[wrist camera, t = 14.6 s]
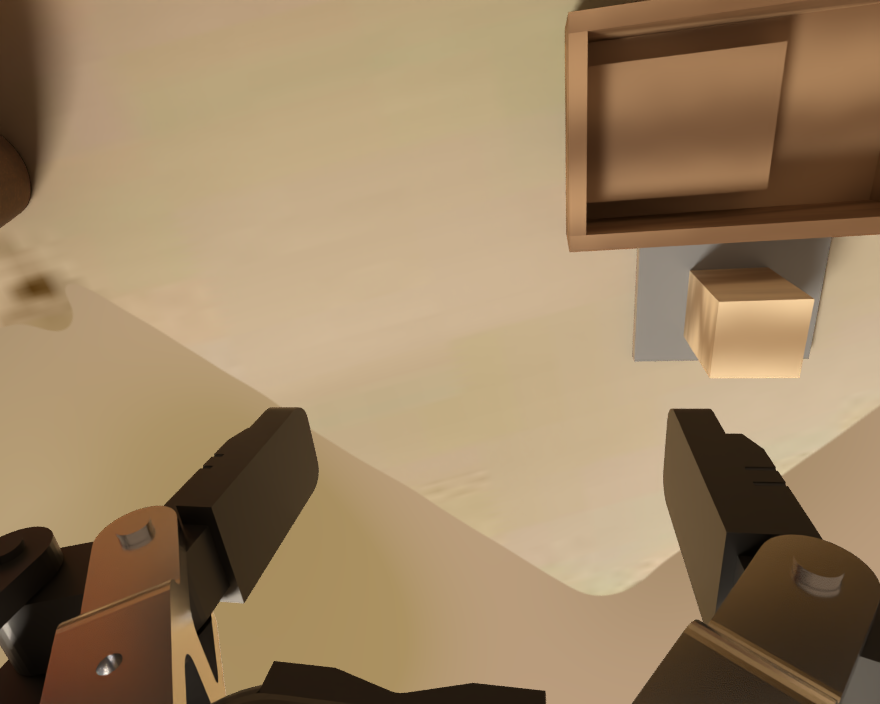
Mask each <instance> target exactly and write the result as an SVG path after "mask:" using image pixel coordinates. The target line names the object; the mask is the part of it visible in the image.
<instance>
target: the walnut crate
mask: <svg viewBox="0 0 880 704" xmlns="http://www.w3.org/2000/svg"><path fill="white" fill-rule="evenodd" d="M565 112H566V234H567V240H568V246H569V251H570V252H580V251H598V250H615V249H633V248H650V247H668V246H685V245H703V244H720V243H737V242H755V241H772V240H790V239H807V238H825V237H842V236H860V235H877V234H880V0H648V1H641V2H634V3H627V4H621V5H614V6H607V7H600V8H594V9H587V10H580V11H573V12H568V17H567V22H566V26H565Z"/></svg>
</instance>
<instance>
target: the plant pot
mask: <svg viewBox="0 0 880 704" xmlns="http://www.w3.org/2000/svg"><path fill="white" fill-rule="evenodd" d="M30 190H31V187H30V180H29V175H28V172H27V169H26V166H25V164H24V163H23V161H22V159H21V157H20V155H19V154H18V153H17V151H16V150H15V149H14V148H13V146H12V145H11V144H10V143H9V142H8V141H7V140H6V139H4V138H3V137H2V136H0V228H1V227H2V226H4V225H5V224H6V223H8V222H9V221H11V220H12V219H13V218H15V217H16V216H17V215H18V214H20V213H21V212H22V211H23V210H24V209H25V208H26V206H27V204H28V202H29V198H30Z"/></svg>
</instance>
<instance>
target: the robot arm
mask: <svg viewBox="0 0 880 704" xmlns="http://www.w3.org/2000/svg"><path fill="white" fill-rule="evenodd" d="M318 469H319V468H318V461H317V457H316V452H315V448H314V443H313V439H312V435H311V430H310V426H309V422H308V418H307V415H306V412H305V411H304V410H303V409H302V408H299V407H276V408H275V407H274V408H273V407H272V408H268V409H267V410H266V411H265V412H264V413H263V414H262V415H261V416H260V417H259V418H258V419H257V421H255V423H254V424H253V425H252V426H251V427H250V428H247V429H245V430H244V431H242V432H241V433H239V434H237V435H236V436H234V437H232V438H231V439H229V440H228V441H227V442H226V443H225V444H224V445H223V446H222V447H221V448H220V449H219V450H218V451H217V452H216V453H215V454H214V457H211V458H210V459H209V460H208V461H207V462H206V463H205V464H204V465H203V469H199V470H198V471H197V472H196V473H195V474H194V475H193V476H192V477H191V478H190V479H189V480H188V481H187V482H186V483H185V484H184V486H182V488H181V489H180V490H179V491H178V492H177V493H176V494H175V495H174V496H173V497H172V498H171V499H170V500H169V501H168V502H167V503H166V504H165V505H164V506H151V507H145V508H142V509H138V510H135V511H133V512H130V513H128V514H126V515H124V516H122V517H120V518H118V519H116V520H115V521H113V522H112V523H110V524H109V525H108V526H107V527H105V528H104V529H103V530H102V531H101V532H100V533H99V535H98V536H97V537H96V539H95V541H94V542H89V543H84V544H79V545H73V546H68V547H63V548H60V547H59V545H58V543H57V541H56V539H55V537H54V535H53V533H52V531H51V530H50V529H48V528H45V527H29V528H25V529H20V530H17V531H14V532H11V533H9V534H6V535H4V536H1V537H0V646H1V648H2V649H3V651H4V652H5V654H6V656H7V657H8V659H9V660H8V661H7V662H6V663H5V664H4V665H3V666H2V667H1V668H0V704H546V693H545V691H541V690H532V689H523V688H514V687H505V686H495V685H487V684H478V683H470V684H464V685H456V686H449V687H442V688H436V689H429V690H422V691H416V692H408V693H395V692H391V691H389V690H387V689H384V688H382V687H379V686H377V685H375V684H372V683H370V682H367V681H365V680H363V679H361V678H358V677H356V676H353V675H351V674H349V673H346V672H344V671H342V670H339V669H336V668H332V667H323V666H314V665H305V664H295V663H286V662H277V661H274V662H273V664H272V666H271V668H270V670H269V672H268V674H267V676H266V678H265V680H264V682H263V684H262V685H260V686H255V687H252V688H248V689H244V690H241V691H238V692H236V693H233V694H231V695H228V696H226V692H225V684H224V676H223V668H222V660H221V652H220V644H219V636H218V628H217V622H216V618H215V616H214V613H213V610H214V609H215V607H216V606H217V604H218V603H219V602H220V601H222V602H234V603H245V601H246V599H247V598H248V596H249V595H250V593H251V591H252V590H253V588H254V587H255V585H256V583H257V582H258V580H259V578H260V577H261V575H262V573H263V572H264V570H265V569H266V567H267V565H268V564H269V562H270V561H271V559H272V557H273V556H274V554H275V553H276V551H277V549H278V548H279V546H280V545H281V543H282V541H283V540H284V538H285V536H286V535H287V533H288V532H289V530H290V528H291V526H292V525H293V524H294V522H295V520H296V519H297V517H298V515H299V514H300V512H301V510H302V509H303V507H304V506H305V504H306V503H307V501H308V499H309V498H310V496H311V494H312V493H313V491H314V489H315V487H316V484H317V480H318V472H319V470H318ZM663 484H664V494H665V500H666V504H667V507H668V511H669V514H670V517H671V520H672V524H673V527H674V530H675V533H676V536H677V540H678V543H679V546H680V549H681V553H682V555H683V559H684V562H685V565H686V568H687V572H688V575H689V578H690V581H691V585H692V588H693V591H694V594H695V597H696V600H697V604H698V606H699V610H700V614H701V617H702V620H703V622H701V621H700V620H694V621H693V622H691V623H690V624H689V625H688V626H687V628H686V629H685V630H684V631H683V633H682V634H681V636H680V637H679V638H678V640H677V641H676V643H675V644H674V645H673V647H672V648H671V650H670V651H669V652H668V654H667V655H666V657H665V658H664V659H663V661H662V662H661V663H660V665H659V666H658V668H657V669H656V671H655V672H654V673H653V675H652V676H651V678H650V679H649V680H648V682H647V683H646V684H645V686H644V687H643V689H642V690H641V692H640V693H639V694H638V696H637V697H636V698H635V700H634V701H633V703H632V704H880V583H879V580H878V578H877V577H876V575H875V574H874V572H873V571H872V570H871V569H870V568H869V567H868V566H867V565H866V564H865V563H864V562H863V561H862V560H860V559H859V558H858V557H857V556H855V555H854V554H852V553H851V552H849V551H847V550H845V549H843V548H841V547H839V546H837V545H835V544H833V543H831V542H828V541H825V540H823V539H822V538H821V536H820V534H819V533H818V531H817V530H816V528H815V527H814V525H813V524H812V522H811V521H810V519H809V518H808V516H807V515H806V513H805V512H804V510H803V509H802V507H801V505H800V504H799V502H798V501H797V499H796V498H795V496H794V495H793V493H792V492H791V490H790V489H789V487H788V486H786V485H785V481H784V479H783V478H782V476H781V475H780V473H779V472H778V471H776V467H775V466H774V464H773V463H772V461H771V459H770V458H769V456H768V455H767V453H766V452H765V450H764V449H763V448H761V447H760V446H758V445H757V444H756V443H754V442H753V441H751V440H750V439H749V438H747V437H746V436H744V435H743V434H725V432H724V430H723V428H722V427H721V425H720V423H719V421H718V419H717V418H716V416H715V414H714V412H713V411H712V410H711V409H670V411H669V413H668V419H667V432H666V445H665V458H664V470H663Z"/></svg>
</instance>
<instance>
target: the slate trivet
mask: <svg viewBox="0 0 880 704" xmlns="http://www.w3.org/2000/svg"><path fill="white" fill-rule="evenodd" d="M831 238H832V237H825V238H807V239H790V240H772V241H755V242H737V243H720V244H703V245H685V246H668V247H650V248H637V265H636V287H635V309H634V330H633V352H632V357H633V359H634V361H694V360H698V358H697V357H696V355H695V354H694V352H693V350H692V349H691V347H690V346H689V344H688V342H687V341H686V339H685V338H684V326H685V315H686V305H687V294H688V283H689V273H690V271H691V270H715V269H739V268H763V267H768V268H770V269H771V270H773V271H774V272H776V273H777V274H779V275H780V276H781V277H783V278H784V279H786V280H787V281H789V282H790V283H792V284H793V285H795V286H796V287H798V288H799V289H801V290H802V291H804V292H805V293H806V294H808V295H809V296H811V297H812V298H814V305H813V310H812V315H811V320H810V325H809V330H808V336H807V341H806V346H805V351H804V356H803V359H809V354H810V349H811V344H812V338H813V333H814V328H815V323H816V317H817V312H818V307H819V302H820V296H821V291H822V286H823V280H824V275H825V270H826V265H827V259H828V254H829V249H830V243H831Z"/></svg>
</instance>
